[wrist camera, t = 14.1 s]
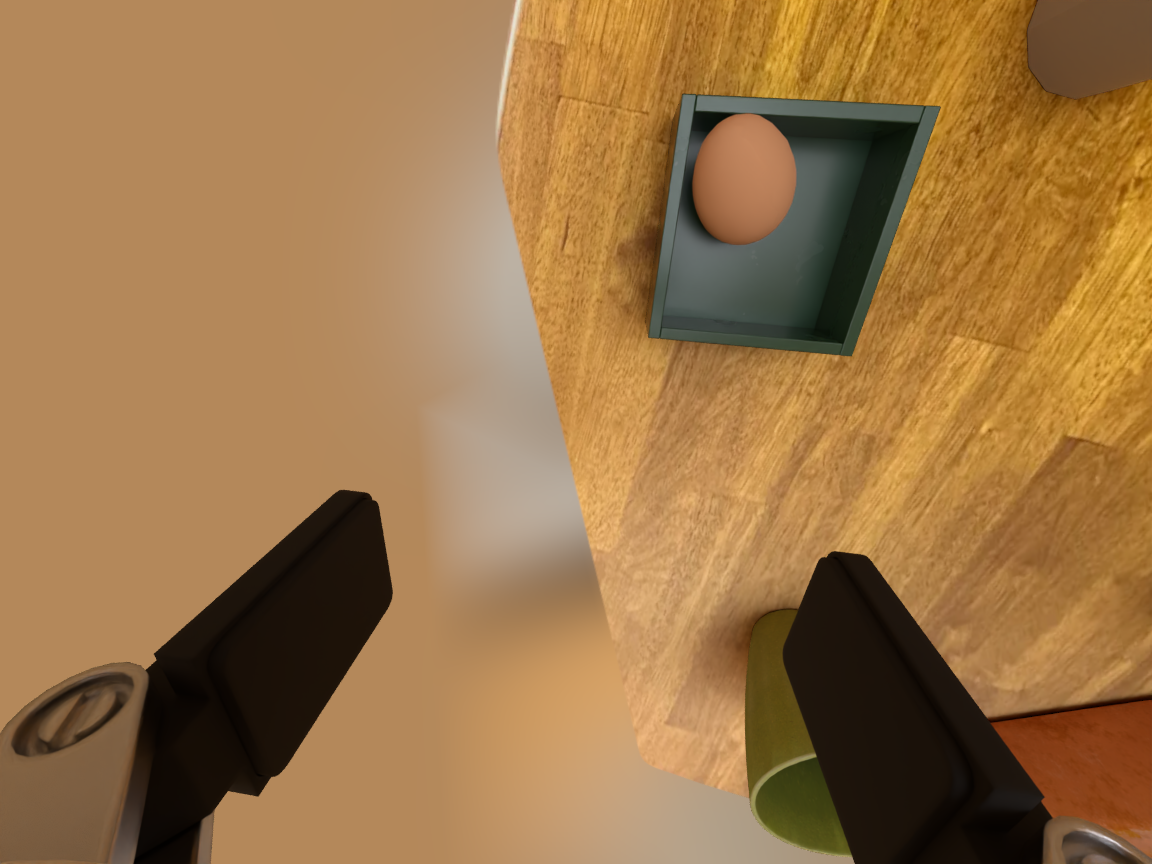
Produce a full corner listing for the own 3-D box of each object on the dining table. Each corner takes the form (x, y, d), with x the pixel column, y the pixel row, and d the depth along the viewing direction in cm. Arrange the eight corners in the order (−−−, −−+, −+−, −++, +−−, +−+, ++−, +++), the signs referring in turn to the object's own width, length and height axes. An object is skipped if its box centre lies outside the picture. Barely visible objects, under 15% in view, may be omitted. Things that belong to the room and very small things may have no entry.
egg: (768, 173, 29) (750, 57, 22) (819, 225, 27) (816, 113, 20) (695, 229, 31) (656, 139, 24) (735, 282, 29) (705, 199, 22)
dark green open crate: (645, 322, 34) (647, 337, 29) (673, 117, 28) (682, 93, 23) (818, 337, 33) (852, 356, 28) (884, 129, 27) (941, 105, 22)
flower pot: (711, 673, 51) (743, 846, 37) (718, 579, 45) (761, 744, 30) (844, 680, 49) (934, 867, 35) (872, 583, 43) (995, 762, 28)
